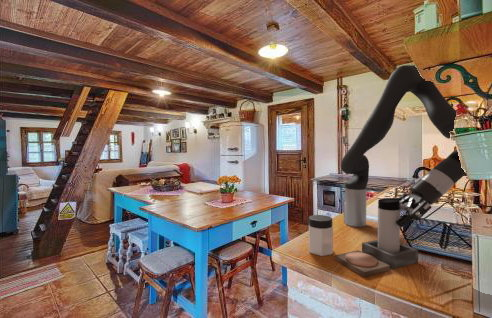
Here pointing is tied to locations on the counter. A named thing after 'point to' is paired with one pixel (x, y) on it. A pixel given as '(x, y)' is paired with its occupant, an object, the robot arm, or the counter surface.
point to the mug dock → (377, 259)
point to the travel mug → (388, 225)
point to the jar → (320, 235)
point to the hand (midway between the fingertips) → (392, 221)
